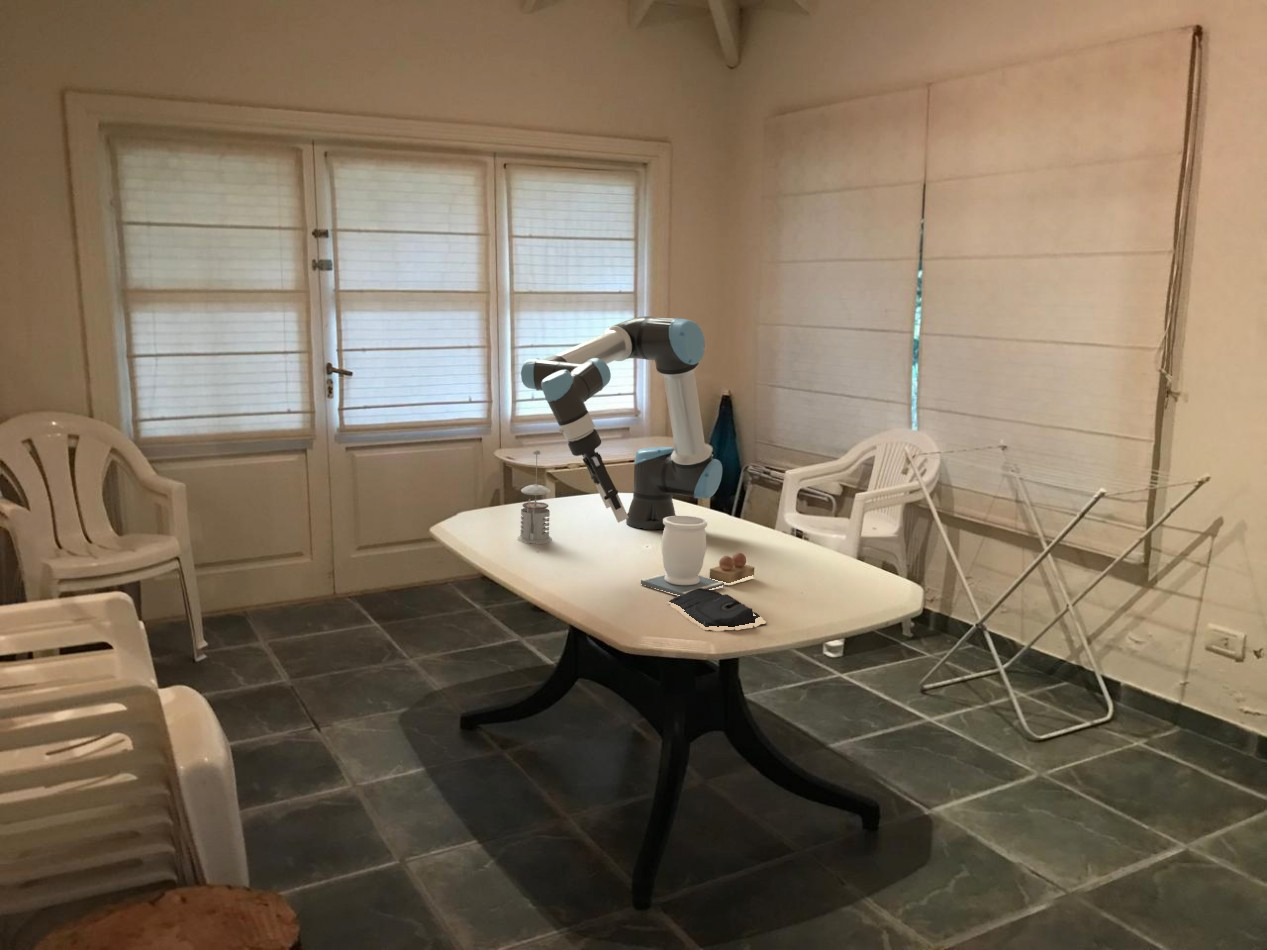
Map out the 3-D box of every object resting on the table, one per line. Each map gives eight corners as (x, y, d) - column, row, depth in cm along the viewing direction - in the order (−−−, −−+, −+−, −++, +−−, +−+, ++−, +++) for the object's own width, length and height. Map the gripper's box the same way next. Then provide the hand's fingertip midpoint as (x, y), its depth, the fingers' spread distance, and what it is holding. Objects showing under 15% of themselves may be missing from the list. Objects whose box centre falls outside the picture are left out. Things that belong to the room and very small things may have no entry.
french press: (555, 536, 285) (557, 447, 280) (547, 546, 273) (550, 455, 269) (520, 533, 286) (522, 445, 281) (511, 544, 274) (513, 452, 269)
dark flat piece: (720, 598, 237) (721, 578, 236) (771, 628, 218) (773, 607, 217) (661, 604, 231) (663, 584, 230) (708, 636, 211) (710, 614, 210)
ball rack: (734, 573, 256) (736, 548, 255) (753, 578, 252) (755, 553, 251) (709, 580, 249) (710, 555, 248) (728, 586, 245) (730, 560, 244)
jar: (652, 582, 241) (655, 520, 238) (670, 572, 250) (673, 512, 247) (693, 590, 236) (697, 527, 234) (710, 579, 245) (714, 519, 243)
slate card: (679, 574, 253) (679, 569, 253) (723, 587, 243) (723, 582, 243) (640, 584, 243) (641, 579, 243) (685, 599, 233) (685, 593, 233)
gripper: (558, 432, 250) (593, 506, 256) (575, 451, 226) (613, 533, 232) (585, 419, 251) (620, 493, 257) (605, 437, 227) (643, 518, 233)
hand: (617, 512), depth 244 cm, fingers open, 13 cm apart
